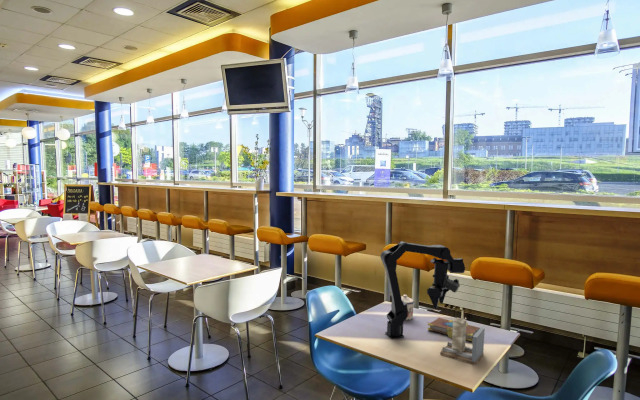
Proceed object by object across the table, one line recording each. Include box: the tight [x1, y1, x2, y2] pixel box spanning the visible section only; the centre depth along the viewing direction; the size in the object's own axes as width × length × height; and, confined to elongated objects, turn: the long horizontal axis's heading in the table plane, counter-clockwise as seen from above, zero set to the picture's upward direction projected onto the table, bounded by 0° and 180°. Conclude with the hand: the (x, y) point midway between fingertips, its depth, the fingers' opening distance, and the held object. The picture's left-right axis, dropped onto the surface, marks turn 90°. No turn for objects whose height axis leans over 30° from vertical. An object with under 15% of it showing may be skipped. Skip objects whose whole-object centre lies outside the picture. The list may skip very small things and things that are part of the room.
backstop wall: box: [471, 327, 485, 362], centre depth 160 cm, size 2×12×10 cm, turn 144°
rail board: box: [439, 341, 484, 365], centre depth 164 cm, size 14×12×2 cm
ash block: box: [451, 317, 467, 352], centre depth 165 cm, size 4×5×13 cm
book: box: [427, 317, 481, 342], centre depth 189 cm, size 16×25×5 cm, turn 53°
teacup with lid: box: [401, 294, 414, 321], centre depth 207 cm, size 12×9×12 cm
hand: (438, 306), depth 183 cm, fingers open, 9 cm apart
